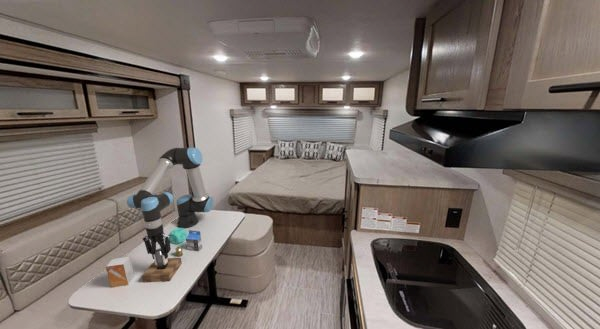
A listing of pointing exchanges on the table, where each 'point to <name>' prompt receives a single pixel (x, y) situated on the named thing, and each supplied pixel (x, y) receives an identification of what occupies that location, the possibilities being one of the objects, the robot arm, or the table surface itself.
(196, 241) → the label tape cartridge
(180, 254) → the short pin
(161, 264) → the long pin
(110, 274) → the small box
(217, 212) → the table surface
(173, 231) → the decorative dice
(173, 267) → the hole block
